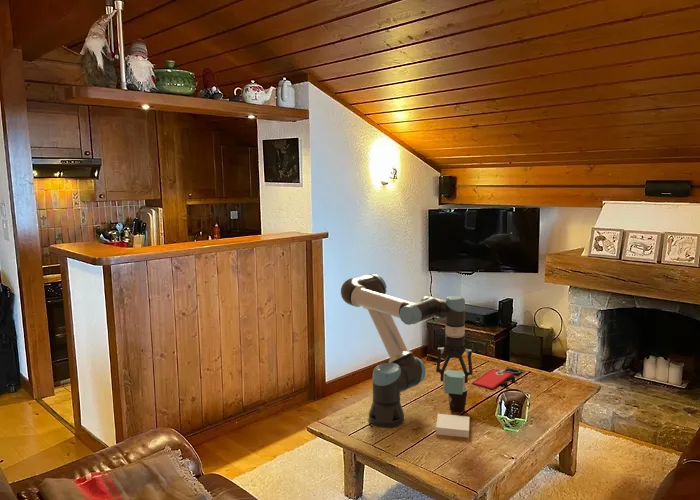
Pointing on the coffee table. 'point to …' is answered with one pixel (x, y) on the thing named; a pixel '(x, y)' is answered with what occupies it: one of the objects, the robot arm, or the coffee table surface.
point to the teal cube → (454, 382)
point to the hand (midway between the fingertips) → (453, 389)
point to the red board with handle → (496, 378)
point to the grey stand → (452, 425)
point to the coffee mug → (458, 401)
